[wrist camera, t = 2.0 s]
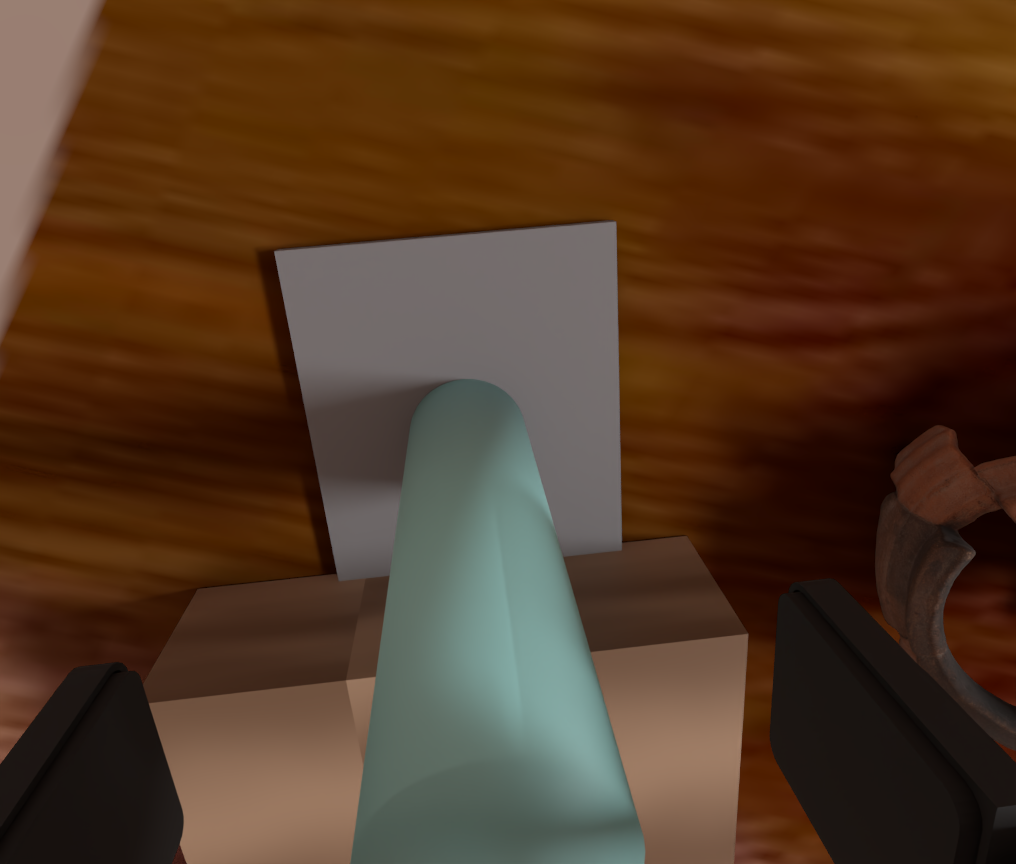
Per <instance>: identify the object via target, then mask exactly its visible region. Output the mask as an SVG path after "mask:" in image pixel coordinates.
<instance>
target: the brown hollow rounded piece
mask: <svg viewBox="0 0 1016 864" xmlns="http://www.w3.org/2000/svg"><path fill="white" fill-rule="evenodd" d="M890 476H891V479H892V481H893V483H894V485H895V487H896V491H895V492H892V493H890V494H888V495H887V496H886V497H885V498H884V500H883V502H882V504H881V507H880V516H879V521H878V528H877V536H876V550H875V576H876V587H877V592H878V596H879V600H880V605H881V609H882V613H883V616H884V618H885V620H886V622H887V623H888V624H889V625H890V626H892V627H893V628H895V629H896V630H897V631H898V632H899V634H900V637H901V638H900V640H899V644H900V646H901V647H902V648H903V649H904V650H905V651H906V652H907V653H908V654H909V655H910V657H911V658H912V659H913V660H914V661H915V662H916V663H917V664H918V665H919V666H920V667H921V668H922V669H924V670H925V671H926V672H927V673H928V674H929V675H930V676H931V677H932V678H933V679H934V680H935V681H936V682H937V683H938V684H939V685H940V686H941V687H942V688H943V689H944V690H945V691H946V692H947V693H948V694H949V695H950V696H951V697H952V698H953V699H954V700H955V701H956V702H957V703H958V704H959V705H960V706H961V707H962V708H963V709H964V710H965V712H966V713H967V714H968V715H969V716H970V717H971V718H972V719H973V720H974V721H975V722H976V723H977V724H978V725H979V726H980V727H981V728H982V729H983V730H984V731H985V732H986V733H987V734H988V735H989V736H990V737H991V738H992V739H993V740H995V741H997V742H998V743H1000V744H1002V745H1004V746H1005V747H1007V748H1010V749H1013V750H1016V707H1015V706H1013V705H1011V704H1008V703H1007V702H1005V701H1003V700H1001V699H1000V698H998V697H996V696H994V695H993V694H991V693H990V692H988V691H986V690H985V689H984V688H982V687H981V686H980V685H978V684H977V683H976V682H974V681H973V680H972V679H971V678H970V677H969V676H968V675H967V674H966V673H965V672H964V671H963V670H962V669H961V667H960V666H959V664H958V663H957V662H956V660H955V659H954V657H953V656H952V654H951V652H950V650H949V648H948V645H947V643H946V638H945V634H944V627H943V609H944V605H945V601H946V598H947V595H948V593H949V591H950V588H951V586H952V584H953V582H954V580H955V579H956V577H957V576H958V575H959V574H960V572H961V571H962V569H963V568H964V567H965V566H966V565H967V564H968V563H969V562H970V561H971V560H972V559H973V557H974V556H975V554H976V552H975V550H974V549H973V548H972V547H971V546H970V545H969V544H967V542H966V541H964V540H963V539H962V537H961V536H960V535H959V533H958V530H959V529H961V528H963V527H964V526H966V525H968V524H970V523H972V522H974V521H975V520H976V519H977V518H978V517H980V516H981V515H983V514H985V513H989V512H993V511H997V510H1000V509H1004V511H1005V512H1006V513H1007V514H1008V515H1009V517H1010V518H1011V519H1012V520H1013V521H1014V522H1015V523H1016V456H1011V457H1006V458H1002V459H997V460H993V461H989V462H984V463H981V464H979V465H978V466H976V467H974V466H973V465H972V464H971V463H970V462H969V461H968V459H967V458H966V457H965V456H964V455H963V454H962V453H961V451H960V450H959V449H958V440H957V434H956V432H955V431H954V430H952V429H949V428H947V427H945V426H942V425H936V426H934V427H932V428H930V429H929V430H927V431H926V432H924V433H923V434H921V435H920V436H919V437H917V438H916V439H915V440H914V441H913V442H911V443H910V444H909V445H907V446H906V447H905V448H904V449H902V450H901V451H900V452H899V453H898V454H897V457H896V459H895V469H894V470H893V471H892V473H891V475H890Z"/></svg>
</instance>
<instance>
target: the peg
mask: <svg viewBox="0 0 1016 864" xmlns="http://www.w3.org/2000/svg"><path fill="white" fill-rule="evenodd" d="M644 862H645V843H644V837H643V833H642V830H641V826H640V823H639V819H638V816H637V812H636V809H635V805H634V802H633V798H632V795H631V791H630V788H629V784H628V781H627V777H626V774H625V770H624V767H623V763H622V760H621V757H620V753H619V750H618V746H617V743H616V739H615V736H614V732H613V729H612V725H611V722H610V718H609V715H608V711H607V708H606V704H605V701H604V697H603V694H602V690H601V687H600V684H599V680H598V677H597V673H596V670H595V666H594V663H593V659H592V656H591V652H590V649H589V645H588V642H587V638H586V635H585V631H584V628H583V624H582V621H581V617H580V614H579V611H578V607H577V604H576V600H575V597H574V593H573V590H572V586H571V583H570V579H569V576H568V572H567V569H566V565H565V562H564V558H563V555H562V551H561V548H560V544H559V541H558V538H557V534H556V531H555V527H554V524H553V520H552V517H551V513H550V510H549V506H548V503H547V499H546V496H545V492H544V489H543V485H542V482H541V478H540V475H539V471H538V468H537V464H536V461H535V458H534V454H533V451H532V447H531V444H530V440H529V437H528V433H527V430H526V426H525V423H524V419H523V416H522V413H521V411H520V409H519V407H518V406H517V404H516V402H515V401H514V400H513V399H512V398H511V396H509V395H508V394H507V393H506V392H505V391H504V390H502V389H501V388H499V387H497V386H495V385H493V384H491V383H488V382H485V381H481V380H475V379H461V380H454V381H451V382H448V383H445V384H443V385H440V386H439V387H437V388H435V389H434V390H432V391H431V392H430V393H429V394H427V395H426V396H425V397H424V398H423V399H422V401H421V402H420V403H419V405H418V406H417V408H416V410H415V412H414V414H413V417H412V420H411V425H410V431H409V438H408V446H407V453H406V460H405V467H404V475H403V482H402V489H401V497H400V504H399V511H398V519H397V526H396V533H395V540H394V548H393V555H392V562H391V570H390V577H389V584H388V591H387V599H386V606H385V613H384V621H383V628H382V635H381V642H380V650H379V657H378V664H377V672H376V679H375V686H374V694H373V701H372V708H371V715H370V723H369V730H368V737H367V745H366V752H365V759H364V766H363V774H362V781H361V788H360V796H359V803H358V810H357V818H356V825H355V832H354V839H353V847H352V854H351V861H350V864H644Z"/></svg>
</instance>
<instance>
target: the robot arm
mask: <svg viewBox="0 0 1016 864" xmlns="http://www.w3.org/2000/svg"><path fill="white" fill-rule="evenodd" d="M770 742H771V747H772V751H773V754H774V757H775V759H776V761H777V764H778V765H779V767H780V769H781V771H782V772H783V774H784V776H785V778H786V779H787V781H788V783H789V785H790V786H791V788H792V790H793V792H794V793H795V795H796V797H797V799H798V800H799V802H800V804H801V806H802V807H803V809H804V811H805V813H806V814H807V816H808V818H809V820H810V821H811V823H812V825H813V827H814V828H815V830H816V832H817V834H818V835H819V837H820V839H821V841H822V842H823V844H824V846H825V848H826V849H827V851H828V853H829V855H830V856H831V858H832V860H833V862H834V863H835V864H1016V763H1015V762H1014V761H1013V760H1012V759H1011V757H1010V756H1009V755H1008V754H1007V753H1006V752H1005V751H1004V750H1003V749H1002V748H1001V747H1000V746H999V745H998V744H997V743H996V742H995V741H994V740H993V739H992V738H991V737H990V736H989V735H988V734H987V733H986V732H985V731H984V730H983V729H982V728H981V727H980V726H979V725H978V724H977V723H976V722H975V721H974V720H973V719H972V718H971V717H970V716H969V715H968V714H967V713H966V712H965V710H964V709H963V708H962V707H961V706H960V705H959V704H958V703H957V702H956V701H955V700H954V699H953V698H952V697H951V696H950V695H949V694H948V693H947V692H946V691H945V690H944V689H943V688H942V687H941V686H940V685H939V684H938V683H937V682H936V681H935V680H934V679H933V678H932V677H931V676H930V675H929V674H928V673H927V672H926V671H925V670H924V669H922V668H921V667H920V666H919V665H918V664H917V663H916V662H915V661H914V660H913V659H912V658H911V657H910V655H909V654H908V653H907V652H906V651H905V650H904V649H903V648H902V647H901V646H900V645H899V644H898V643H897V642H896V641H895V640H894V639H893V638H892V637H891V636H890V635H889V634H888V633H887V632H886V631H885V630H884V629H883V628H882V627H881V626H880V625H879V624H878V623H877V622H876V621H875V620H874V619H873V618H872V617H871V616H870V615H869V613H868V612H867V611H866V610H865V609H864V608H863V607H862V606H861V605H860V604H859V603H858V602H857V601H856V600H855V599H854V598H853V597H852V596H851V595H850V594H849V593H848V592H847V591H846V590H845V589H844V588H843V587H842V586H841V585H840V584H839V583H838V582H837V581H836V580H834V579H830V578H828V579H819V580H811V581H802V582H795V583H793V584H791V586H790V588H789V592H788V593H786V594H782V595H781V596H780V598H779V602H778V615H777V631H776V646H775V662H774V677H773V693H772V708H771V724H770ZM183 827H184V815H183V810H182V807H181V804H180V800H179V797H178V794H177V791H176V788H175V785H174V781H173V778H172V775H171V772H170V769H169V766H168V763H167V759H166V756H165V753H164V750H163V747H162V744H161V741H160V737H159V734H158V731H157V728H156V725H155V722H154V719H153V715H152V712H151V709H150V706H149V703H148V700H147V697H146V693H145V690H144V687H143V684H142V681H141V678H140V676H139V674H138V673H137V672H135V671H128V670H127V667H126V666H125V665H124V664H123V663H119V662H115V663H106V664H98V665H89V666H81V667H77V668H74V669H73V670H72V671H71V672H70V673H69V674H68V675H67V677H66V678H65V679H64V681H63V682H62V683H61V685H60V686H59V687H58V689H57V690H56V691H55V693H54V694H53V695H52V697H51V698H50V699H49V701H48V702H47V703H46V705H45V706H44V707H43V709H42V710H41V711H40V712H39V714H38V715H37V716H36V718H35V719H34V720H33V722H32V723H31V724H30V726H29V727H28V728H27V730H26V731H25V732H24V734H23V735H22V736H21V738H20V739H19V740H18V742H17V743H16V744H15V746H14V747H13V748H12V750H11V751H10V752H9V753H8V755H7V756H6V757H5V759H4V760H3V761H2V763H1V764H0V864H172V862H173V859H174V856H175V854H176V851H177V849H178V846H179V844H180V841H181V838H182V834H183Z"/></svg>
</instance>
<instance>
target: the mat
mask: <svg viewBox="0 0 1016 864" xmlns="http://www.w3.org/2000/svg"><path fill="white" fill-rule="evenodd" d="M274 253H275V258H276V263H277V269H278V274H279V279H280V284H281V289H282V294H283V299H284V304H285V310H286V315H287V320H288V325H289V330H290V335H291V340H292V345H293V350H294V356H295V361H296V366H297V371H298V376H299V381H300V386H301V391H302V396H303V402H304V407H305V412H306V417H307V422H308V427H309V432H310V437H311V443H312V448H313V453H314V458H315V463H316V468H317V473H318V478H319V483H320V489H321V494H322V499H323V504H324V509H325V514H326V519H327V524H328V529H329V535H330V540H331V545H332V550H333V555H334V560H335V565H336V570H337V576H338V581H346V580H356V579H365V578H374V577H383V576H390V570H391V562H392V555H393V548H394V540H395V533H396V526H397V519H398V511H399V504H400V497H401V489H402V482H403V475H404V467H405V460H406V453H407V446H408V438H409V431H410V425H411V420H412V417H413V414H414V412H415V410H416V408H417V406H418V405H419V403H420V402H421V401H422V399H423V398H424V397H425V396H426V395H427V394H429V393H430V392H431V391H432V390H434V389H435V388H437V387H439V386H440V385H443V384H445V383H448V382H451V381H454V380H461V379H475V380H481V381H485V382H488V383H491V384H493V385H495V386H497V387H499V388H501V389H502V390H504V391H505V392H506V393H507V394H508V395H509V396H511V398H512V399H513V400H514V401H515V402H516V404H517V406H518V407H519V409H520V411H521V413H522V416H523V419H524V423H525V426H526V430H527V433H528V437H529V440H530V444H531V447H532V451H533V454H534V458H535V461H536V464H537V468H538V471H539V475H540V478H541V482H542V485H543V489H544V492H545V496H546V499H547V503H548V506H549V510H550V513H551V517H552V520H553V524H554V527H555V531H556V534H557V538H558V541H559V544H560V548H561V551H562V555H563V557H566V556H575V555H585V554H594V553H603V552H612V551H621V550H622V522H621V465H620V409H619V352H618V296H617V239H616V221H613V220H609V221H597V222H586V223H574V224H563V225H551V226H540V227H528V228H517V229H505V230H494V231H482V232H471V233H459V234H448V235H436V236H425V237H413V238H402V239H390V240H379V241H367V242H356V243H344V244H333V245H321V246H310V247H299V248H287V249H278V250H276V251H274Z"/></svg>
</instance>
